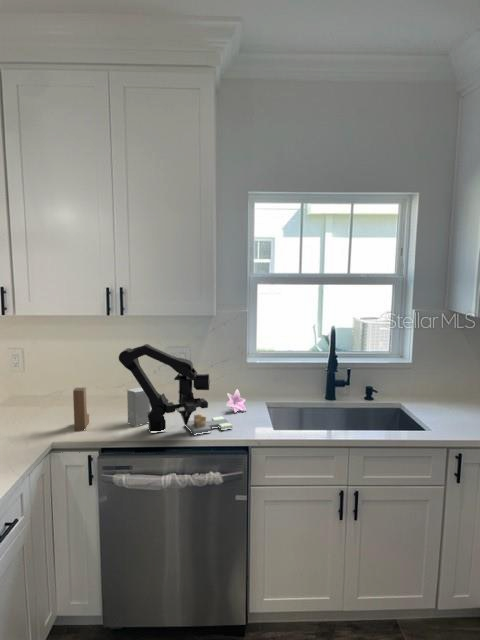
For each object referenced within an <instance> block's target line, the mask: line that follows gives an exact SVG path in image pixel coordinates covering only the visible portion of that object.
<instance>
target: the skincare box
mask: <svg viewBox="0 0 480 640" xmlns="http://www.w3.org/2000/svg"><path fill="white" fill-rule="evenodd" d="M126 391H127V393H126V395H127V424H128V423H130V424H132V425H131V426H133V425H134V426H133V427H135V426H137V425H140V424H144V423H147V422H149V420H148V414H149V413H150V411H151V405H150V401H149V398H148V397H147V395H146V394H145V392H144V391H143V389H142V388H141V387H135V388H131V389H127V390H126ZM130 424H129V425H130ZM147 424H148V423H147ZM144 425H145V424H144ZM137 427H138V426H137Z"/></svg>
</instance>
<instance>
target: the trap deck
mask: <svg viewBox="0 0 480 640" xmlns="http://www.w3.org/2000/svg"><path fill="white" fill-rule="evenodd" d="M186 426H187V427H188V428H189V429H190V430H191V432H192V433H193V434H196V433H202V432H208V431H211V432H212V430H211V428H212V427H218V426H219V427H220V428H221V429H225V428H232V429H233V424H232V423H230V422H229V420H227V419H226V418H225V417H223V416H222V415H221V416H215V417H211V420H208V421H207V420H206V426H200V427H197V426H196V425H195V424H194V419H193V420H189V421H188V423H187V425H186ZM191 432H190V433H191ZM192 433H191V434H192ZM193 434H192V435H193Z"/></svg>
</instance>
